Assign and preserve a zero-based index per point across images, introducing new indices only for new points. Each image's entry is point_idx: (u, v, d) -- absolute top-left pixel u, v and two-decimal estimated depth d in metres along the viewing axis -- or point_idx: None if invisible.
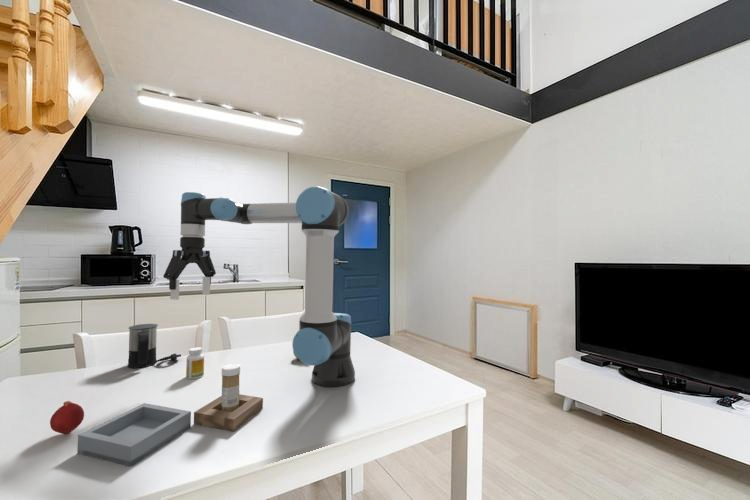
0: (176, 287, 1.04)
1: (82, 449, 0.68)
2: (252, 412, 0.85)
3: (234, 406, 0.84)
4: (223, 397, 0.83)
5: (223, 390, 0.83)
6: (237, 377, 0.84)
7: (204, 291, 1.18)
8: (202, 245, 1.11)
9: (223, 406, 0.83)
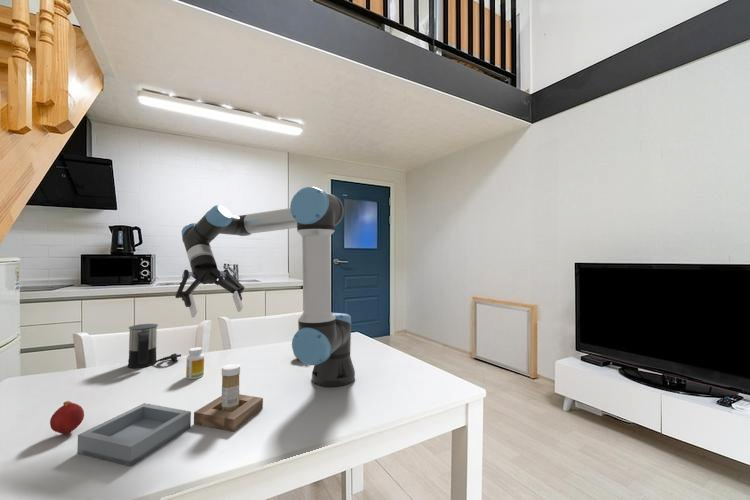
0: (191, 301, 0.93)
1: (82, 449, 0.68)
2: (252, 412, 0.85)
3: (234, 406, 0.84)
4: (223, 397, 0.83)
5: (223, 390, 0.83)
6: (237, 377, 0.84)
7: (237, 307, 1.02)
8: (209, 260, 1.04)
9: (223, 406, 0.83)
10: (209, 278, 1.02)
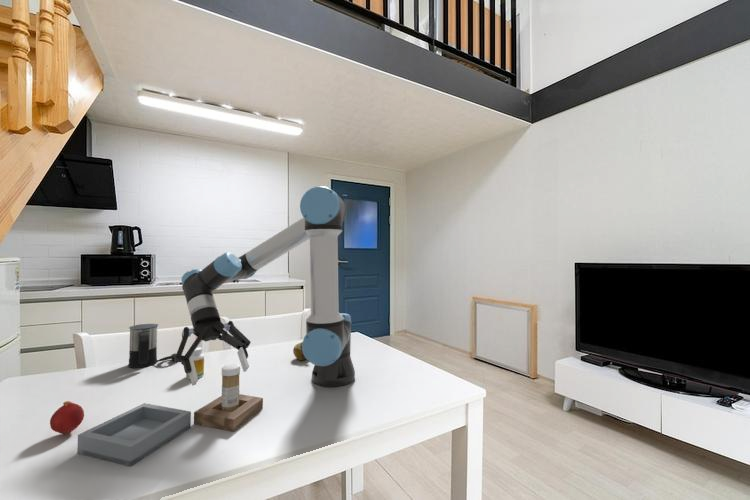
0: (191, 367, 0.83)
1: (82, 449, 0.68)
2: (252, 412, 0.85)
3: (234, 406, 0.84)
4: (223, 397, 0.83)
5: (223, 390, 0.83)
6: (237, 377, 0.84)
7: (243, 366, 0.92)
8: (212, 313, 0.94)
9: (223, 406, 0.83)
10: (212, 335, 0.92)
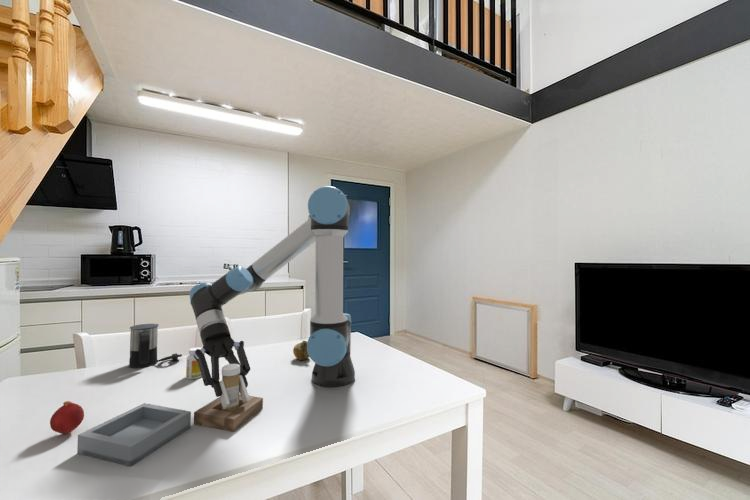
0: (222, 390, 0.82)
1: (82, 449, 0.68)
2: (252, 412, 0.85)
3: (234, 406, 0.84)
4: None
5: None
6: (237, 377, 0.84)
7: (242, 397, 0.85)
8: (222, 329, 0.91)
9: None
10: (222, 352, 0.89)
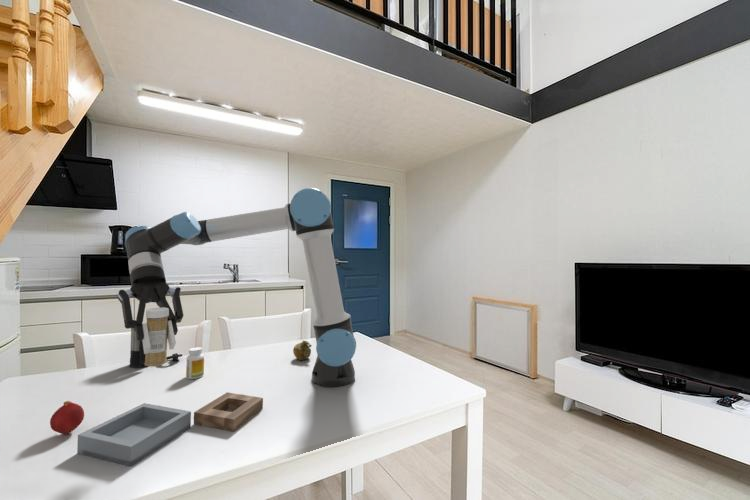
0: (143, 333, 0.73)
1: (82, 449, 0.68)
2: (252, 412, 0.85)
3: (159, 352, 0.75)
4: None
5: None
6: (164, 321, 0.76)
7: (169, 343, 0.76)
8: (154, 272, 0.82)
9: None
10: (152, 296, 0.80)
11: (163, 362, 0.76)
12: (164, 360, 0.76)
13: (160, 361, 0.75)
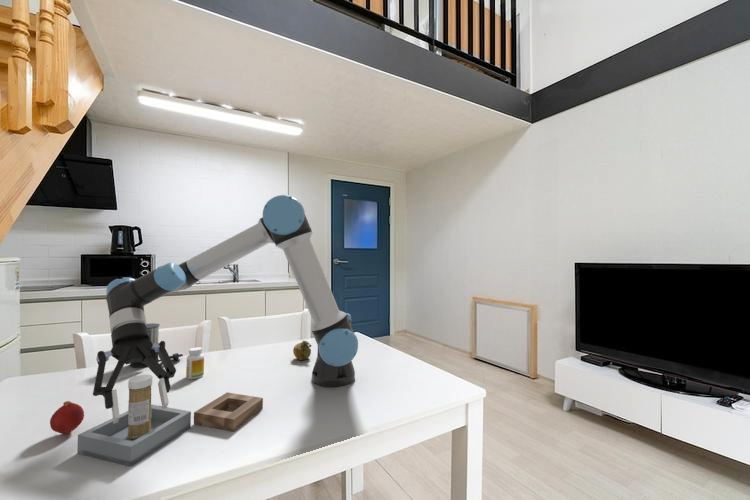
0: (113, 401, 0.69)
1: (82, 449, 0.68)
2: (252, 412, 0.85)
3: (143, 423, 0.73)
4: (129, 413, 0.72)
5: (129, 405, 0.72)
6: (147, 390, 0.73)
7: (162, 402, 0.75)
8: (136, 330, 0.80)
9: (129, 424, 0.72)
10: (134, 356, 0.78)
11: None
12: (148, 430, 0.74)
13: (144, 432, 0.73)
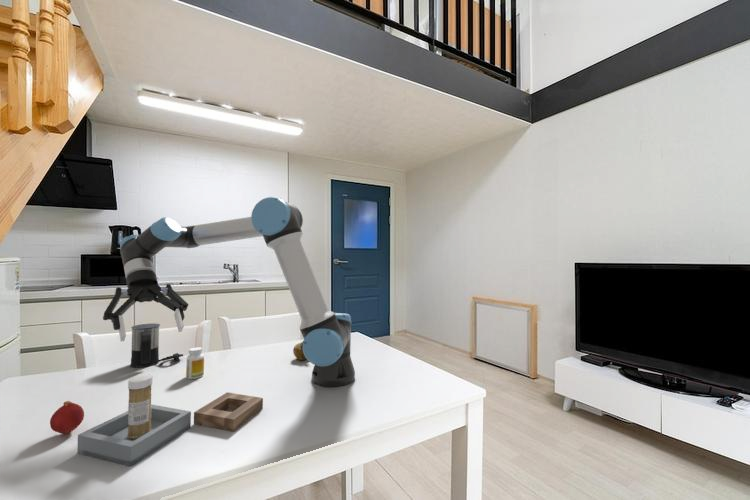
0: (120, 323, 0.84)
1: (82, 449, 0.68)
2: (252, 412, 0.85)
3: (143, 423, 0.73)
4: (129, 413, 0.72)
5: (129, 405, 0.72)
6: (147, 390, 0.73)
7: (178, 327, 0.93)
8: (147, 275, 0.95)
9: (129, 424, 0.72)
10: (146, 296, 0.93)
11: None
12: (148, 430, 0.74)
13: (144, 432, 0.73)
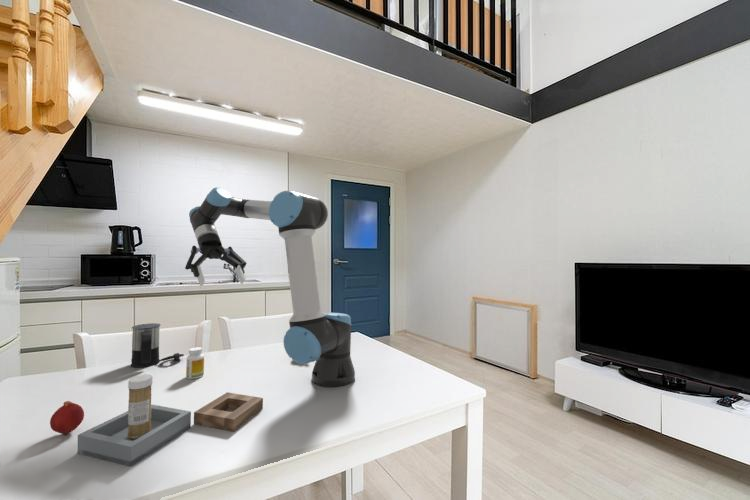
0: (199, 272, 1.04)
1: (82, 449, 0.68)
2: (252, 412, 0.85)
3: (143, 423, 0.73)
4: (129, 413, 0.72)
5: (129, 405, 0.72)
6: (147, 390, 0.73)
7: (240, 279, 1.14)
8: (215, 237, 1.16)
9: (129, 424, 0.72)
10: (215, 253, 1.14)
11: None
12: (148, 430, 0.74)
13: (144, 432, 0.73)
